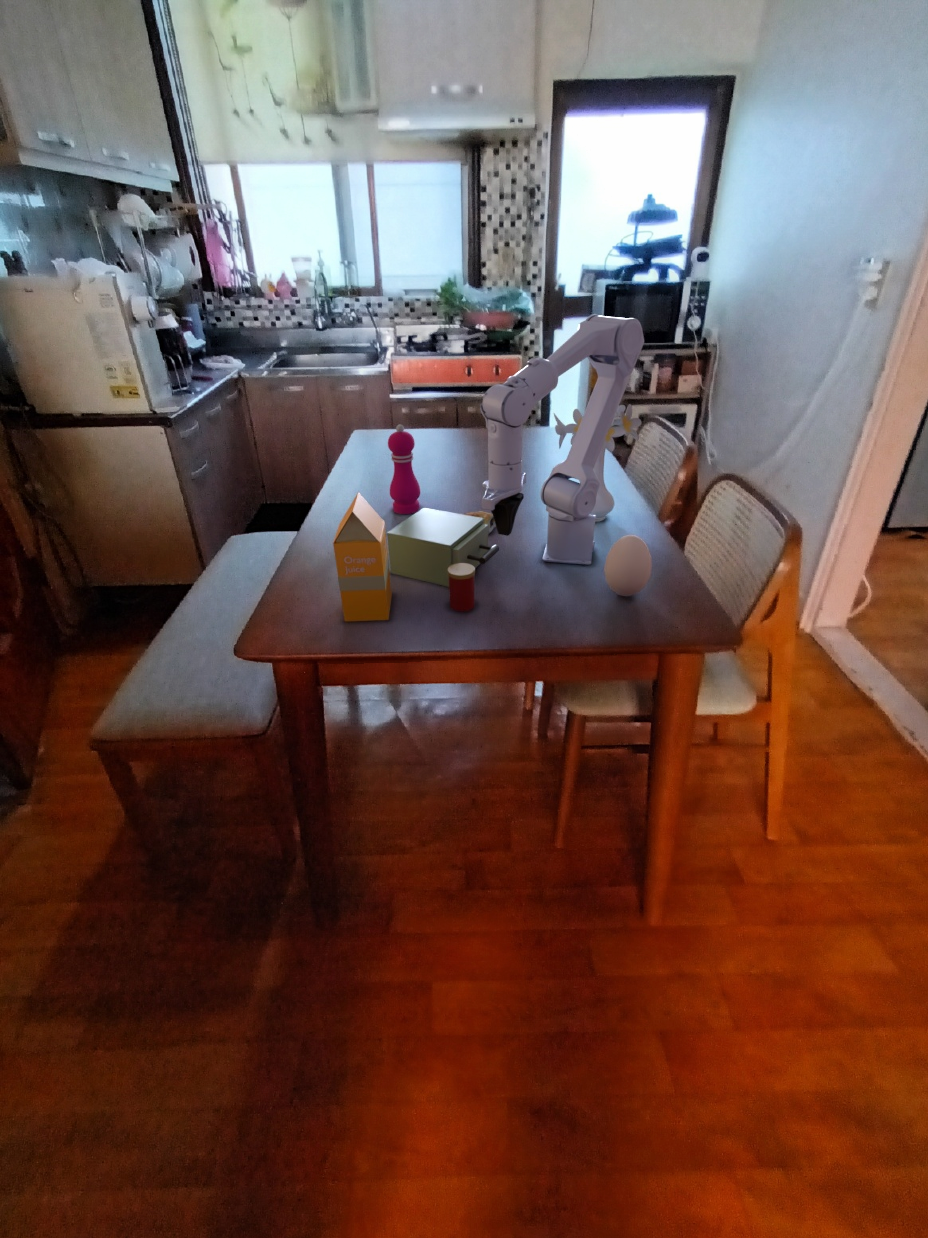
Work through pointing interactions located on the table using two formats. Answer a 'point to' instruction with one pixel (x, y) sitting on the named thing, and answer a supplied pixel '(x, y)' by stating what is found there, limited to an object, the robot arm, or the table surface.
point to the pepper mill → (403, 473)
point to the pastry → (487, 518)
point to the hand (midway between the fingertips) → (504, 533)
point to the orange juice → (363, 563)
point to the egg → (628, 565)
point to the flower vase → (602, 451)
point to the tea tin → (461, 586)
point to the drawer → (474, 548)
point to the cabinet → (428, 544)
